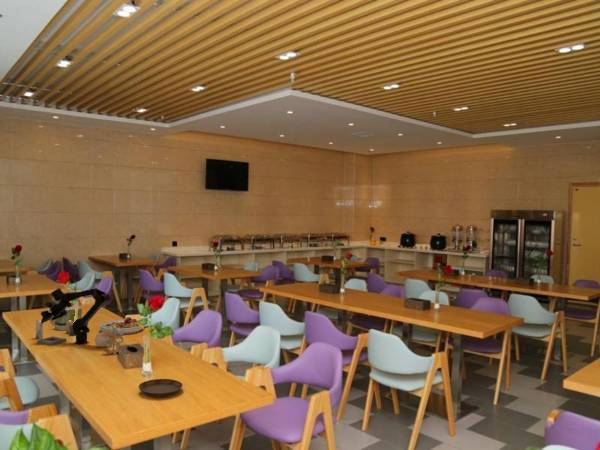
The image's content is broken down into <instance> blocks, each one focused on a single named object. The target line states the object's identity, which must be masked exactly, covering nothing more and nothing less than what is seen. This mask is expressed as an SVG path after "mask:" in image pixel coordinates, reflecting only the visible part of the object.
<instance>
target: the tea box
mask: <svg viewBox="0 0 600 450" xmlns="http://www.w3.org/2000/svg"><path fill="white" fill-rule="evenodd" d="M74 307H75V306H72V307H66V308H65V310H66V311H67V314H66V315H65V316H63V317H60V318H58V319H55V320H54V329H55V330H56V331H57V330H58V331H61V332H62V331H66V321H67V320H73V322H74V316H75V309H74ZM82 313H83V308H81V307H78V319H80V318H82V317H83V316H82Z"/></svg>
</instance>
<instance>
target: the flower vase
mask: <svg viewBox="0 0 600 450" xmlns="http://www.w3.org/2000/svg"><path fill="white" fill-rule="evenodd" d="M110 325H111V324H110ZM111 326H112V325H111ZM112 328H113V332H114V331H115V332H114V333H113V332H110V330H108V331H106V330H105V329H104V332H102V331H101V332H99V333H98V334H96V335H95V338H94V342H95V345H96V346H98V347H100V348H105V347H107V346H108V348H109V349H111V348H112V349H111V350H109V351H108V352H107V355H110V354H113V355H117V351H118V348H119V347H118V346H120V347H121V343H123V342H124V338H123V336H124V334H123V333H121V332H122V329H121V331H120V328H116V326H115V325H113V326H112ZM117 331H120V333H119V335H117ZM118 339H119V340H120V341H117V340H118ZM115 346H116V348H115ZM117 347H118V348H117Z"/></svg>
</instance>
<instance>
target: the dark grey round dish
mask: <svg viewBox="0 0 600 450" xmlns="http://www.w3.org/2000/svg"><path fill="white" fill-rule="evenodd" d="M36 340H37V341H36V342H37V344H39V345H45V346H50V347H51V346H52V347H53V346H55V345H59V344H63V343H67V338H65V337H58V336H55V335H53V336H49V337H45V338H42V339H36Z"/></svg>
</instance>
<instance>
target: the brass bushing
mask: <svg viewBox="0 0 600 450" xmlns="http://www.w3.org/2000/svg"><path fill="white" fill-rule="evenodd" d="M72 324H73V320H67V321H66V330H65V332H66V335H67V334H68V335H70V325H72Z"/></svg>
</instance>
